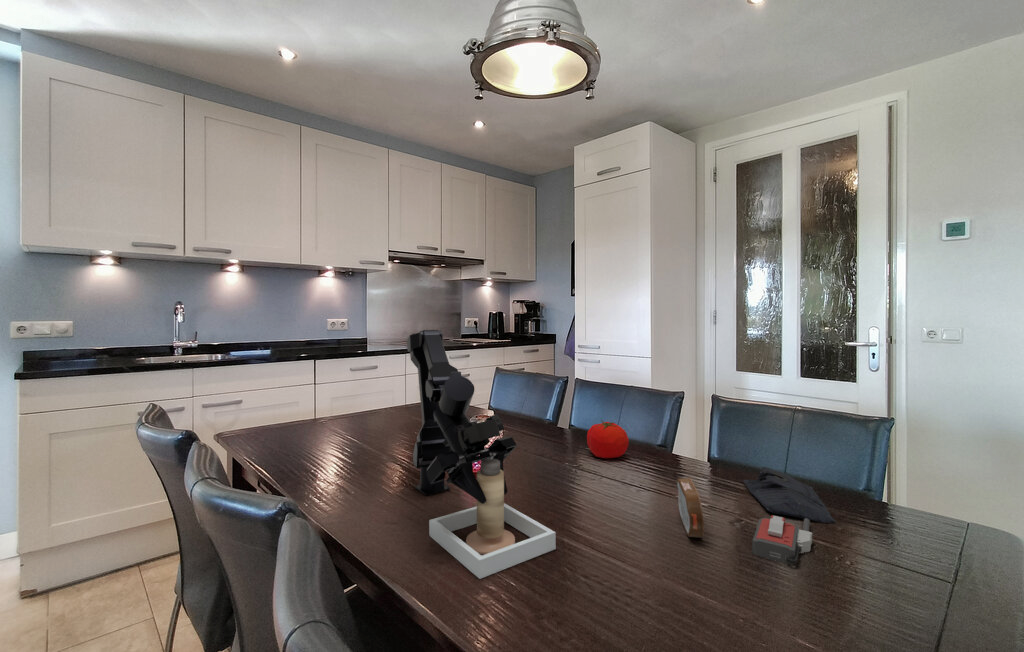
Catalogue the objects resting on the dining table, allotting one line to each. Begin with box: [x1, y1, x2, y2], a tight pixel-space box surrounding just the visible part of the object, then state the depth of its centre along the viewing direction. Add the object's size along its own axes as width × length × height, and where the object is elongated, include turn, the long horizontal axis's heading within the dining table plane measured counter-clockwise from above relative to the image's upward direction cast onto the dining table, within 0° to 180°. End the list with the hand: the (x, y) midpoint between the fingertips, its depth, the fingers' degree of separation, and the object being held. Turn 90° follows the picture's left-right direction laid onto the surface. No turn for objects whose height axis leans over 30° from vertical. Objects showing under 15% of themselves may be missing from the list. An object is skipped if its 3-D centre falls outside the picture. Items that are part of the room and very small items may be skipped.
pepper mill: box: [476, 459, 505, 538], centre depth 86 cm, size 5×5×13 cm
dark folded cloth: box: [742, 466, 837, 524], centre depth 104 cm, size 15×22×5 cm
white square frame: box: [428, 502, 557, 580], centre depth 86 cm, size 18×16×3 cm
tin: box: [676, 477, 705, 539], centre depth 92 cm, size 15×3×8 cm, turn 168°
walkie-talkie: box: [751, 515, 813, 565], centre depth 86 cm, size 9×4×20 cm
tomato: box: [586, 419, 630, 459], centre depth 137 cm, size 11×13×10 cm
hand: (495, 498), depth 85 cm, fingers closed on pepper mill, 5 cm apart
